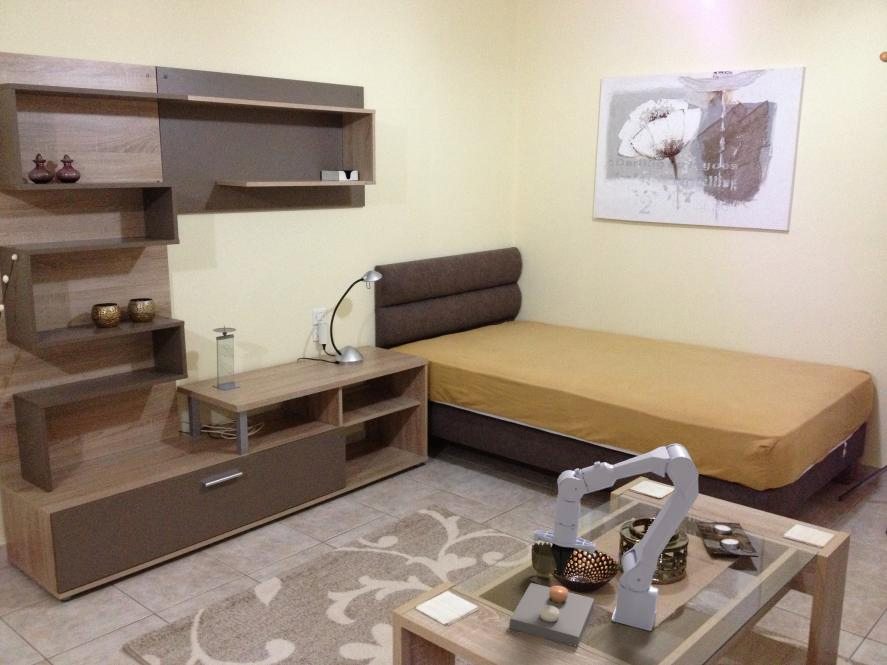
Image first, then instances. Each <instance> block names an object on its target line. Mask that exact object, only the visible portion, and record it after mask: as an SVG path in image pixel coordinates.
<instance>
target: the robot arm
mask: <svg viewBox="0 0 887 665" xmlns="http://www.w3.org/2000/svg"><path fill="white" fill-rule="evenodd" d="M649 472H650V473H653V474H656V475H657V476H660V477H662V478H665V477H666V476H665V475H666V474H667V476H668V477H669V479H670V480H671V482H672V484H673V487H674V489H673V490H672V492H671V493H670V495H669V497H668V498H667V500H666V502H665V503H664V504H663V506H662V508H661V509H660V511H659V512H658V514H657V515H656V517H655V518H654V520H653V521H652V523H651V525H650V526H649V528H648V529H647V531H646V533H645V534H644V535H643V537H642V538H641V540H640V541H638V542H636V543H635V544H634V545H633V547H631V548H630V549H629V550H627V551H626V552H624V554H622V557H621V560H620V562H621V567H622V570H623V572H622V574H621V576H619V581H618V582H619V583H618V590H617V598H616V605H615V607H614V609H613V613H612V616H611V619H610V621H611V622H614V623H619V624H623V625H627V626H630V627H634V628H638V629H642V630H646V631H653V626H654V622H655V620H656V619H657V613H658V612H657V605H658V599H659V591H660V590H659V588H657V587H655V586H653V585H652V583H653V576H654V573H655V572H656V570H657V566H658V562H659V558H660V555H661V554H662V553H663V551H664V549H665V548H666V546H667V545H668V543H669V542H670V540H671V538H672V537H673V535H674V534H675V533H676V531H677V529H678V528H679V527H680V525H681V523H682V522H683V520H684V518H685V517H686V516H687V514H688V513H689V511H690V509H691V508H692V506H694V503H695V502H696V501H697V499H698V498H699V475H700V474H699V471H698V469H697V467H696V465H695V463H694V461H693V459H692V457H691V454H690V452H689V451H688V449H687V447H686V446H684V445H682V444H679V443H672V444H671V443H670V444H669V445H667V446H666V445H665V446H664V445H663V446H659V447H657V448H655V449H653V450H651V451H648V452H647V453H643V454H639V455H637V456H635V457H631V458H628V459H626V460H624V461H620V462H618V463H615V464H610V463H608V462H605V461H604V462H600V460H599V461H595V462H594V463H593V465H591V466H587V467H583V468H579V467H578V468H575V469H574V470H571V469H568V470H564V471H563V472H561V474H559V476H558V478H557V480H556V482H557V483H556V484H557V489H558V490H557V491H558V492H557V496H556V499H557V500H556V502H555V511H554V520H553V530H552V531H550V530H549V531H547V530H539V529H536V530H535V531H534V533H533V541H534V542H538V541H540V542H541V541H542V542H544V543H545V542H546V543H550V544H552V545H551V552H552V554H553V556H554V559H555V562H556V574H557V575H558V576H564V575H565V573H566V569H567V565H568V562H569V560H570V559H571V558H572V556H573V554H574V553H575V550H580V551H584V552H588V553H589V554H590V555H591V554H592V555H594V554H595V551H596V546H597V545H596V543H595V542H591V541H589V540H587V539H584V538H582V537H579V536H578V533H579V526H580V524H579V521H580V513H581V506H582V505H581V499H582V498H583V496H584V495H585V494H589V493H593V492H596V491H600V490H604V489H607V488H610V487H613V486H614V484H615V483H616V481H617V480H620V479H624V478H628V477H633V476H636V475H641V474H645V473H646V474H647V473H649Z"/></svg>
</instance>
